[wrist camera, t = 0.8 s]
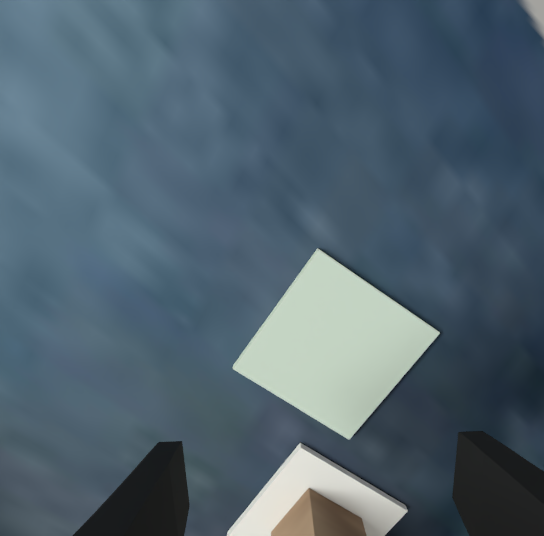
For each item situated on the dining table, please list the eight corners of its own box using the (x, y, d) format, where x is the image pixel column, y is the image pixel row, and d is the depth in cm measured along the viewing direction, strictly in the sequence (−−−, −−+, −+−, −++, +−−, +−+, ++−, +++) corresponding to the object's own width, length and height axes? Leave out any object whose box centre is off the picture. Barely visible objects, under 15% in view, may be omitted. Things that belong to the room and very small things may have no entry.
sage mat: (436, 330, 18) (440, 332, 18) (347, 434, 20) (349, 439, 19) (317, 247, 17) (318, 249, 17) (233, 365, 19) (232, 368, 18)
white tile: (405, 505, 21) (408, 511, 20) (328, 586, 22) (329, 593, 22) (300, 442, 20) (300, 447, 19) (227, 531, 21) (226, 538, 21)
